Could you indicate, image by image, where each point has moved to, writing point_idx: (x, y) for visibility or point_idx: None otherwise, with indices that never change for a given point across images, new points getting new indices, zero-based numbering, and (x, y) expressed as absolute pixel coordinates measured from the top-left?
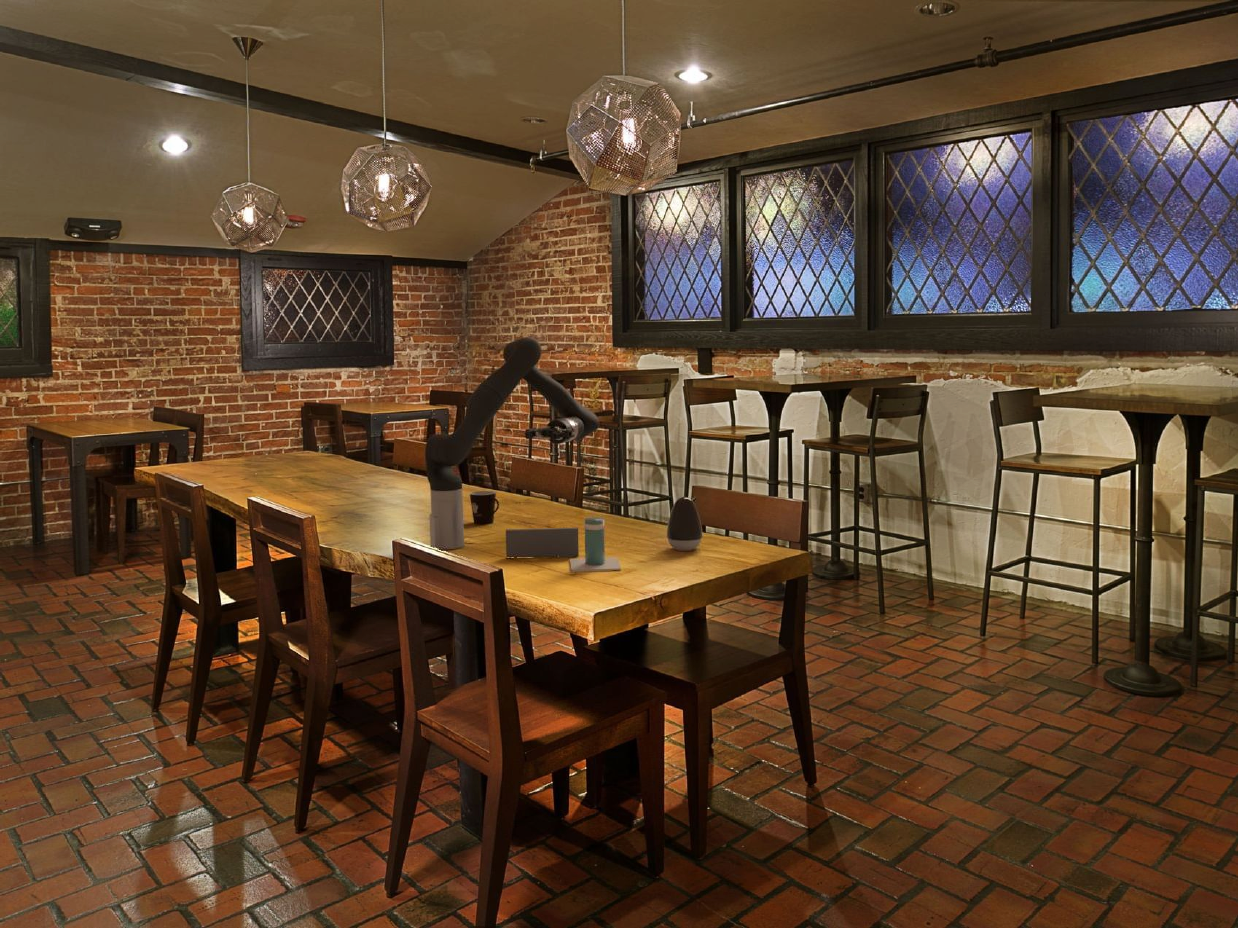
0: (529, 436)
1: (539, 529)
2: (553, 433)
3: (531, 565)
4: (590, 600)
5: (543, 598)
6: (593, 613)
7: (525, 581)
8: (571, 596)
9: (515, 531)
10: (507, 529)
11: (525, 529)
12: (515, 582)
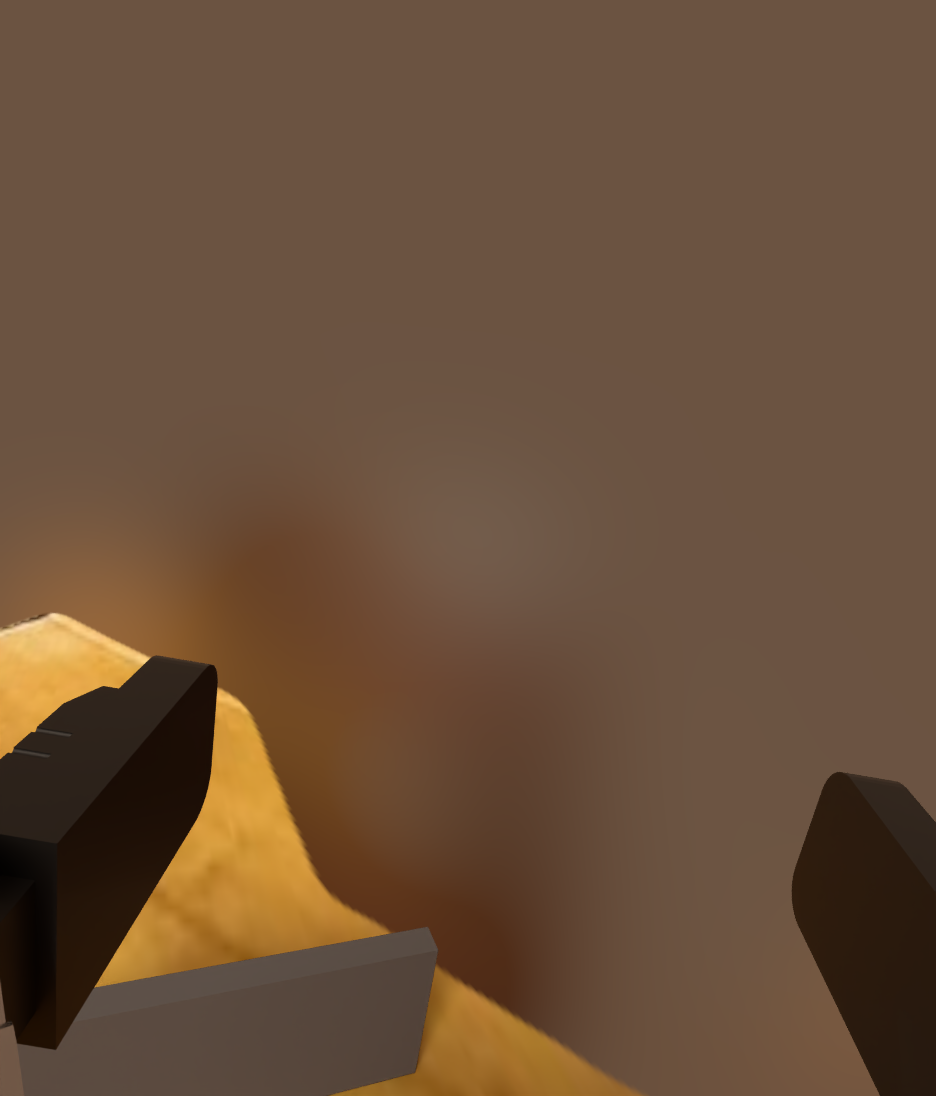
0: (837, 921)
1: (237, 965)
2: (178, 666)
3: (249, 944)
4: (42, 663)
5: None
6: (50, 615)
7: (237, 772)
8: (91, 682)
9: (375, 942)
10: (429, 950)
11: (324, 959)
12: (268, 764)
